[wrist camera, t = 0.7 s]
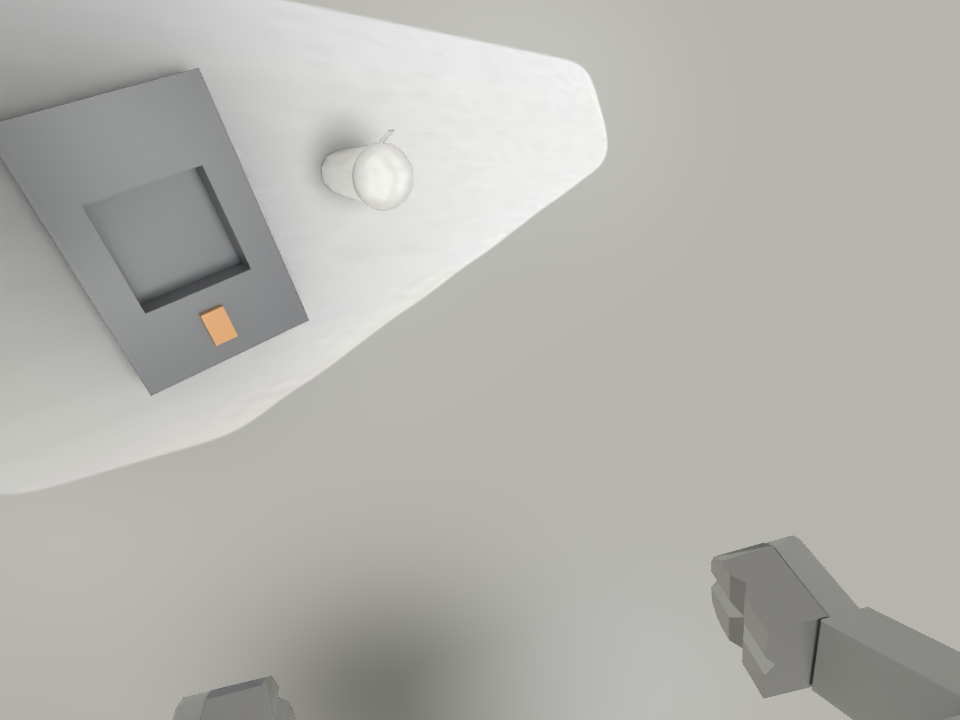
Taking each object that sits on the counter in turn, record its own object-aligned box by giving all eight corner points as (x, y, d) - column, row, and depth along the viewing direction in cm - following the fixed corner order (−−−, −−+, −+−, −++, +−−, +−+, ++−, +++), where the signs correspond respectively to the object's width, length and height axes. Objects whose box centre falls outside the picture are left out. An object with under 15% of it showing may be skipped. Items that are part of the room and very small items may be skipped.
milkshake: (361, 129, 48) (422, 127, 40) (369, 198, 50) (428, 209, 42) (306, 132, 46) (359, 131, 38) (317, 204, 48) (369, 217, 40)
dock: (-13, 127, 35) (-20, 126, 32) (187, 73, 40) (200, 66, 37) (143, 377, 44) (152, 398, 41) (292, 308, 49) (311, 321, 45)
